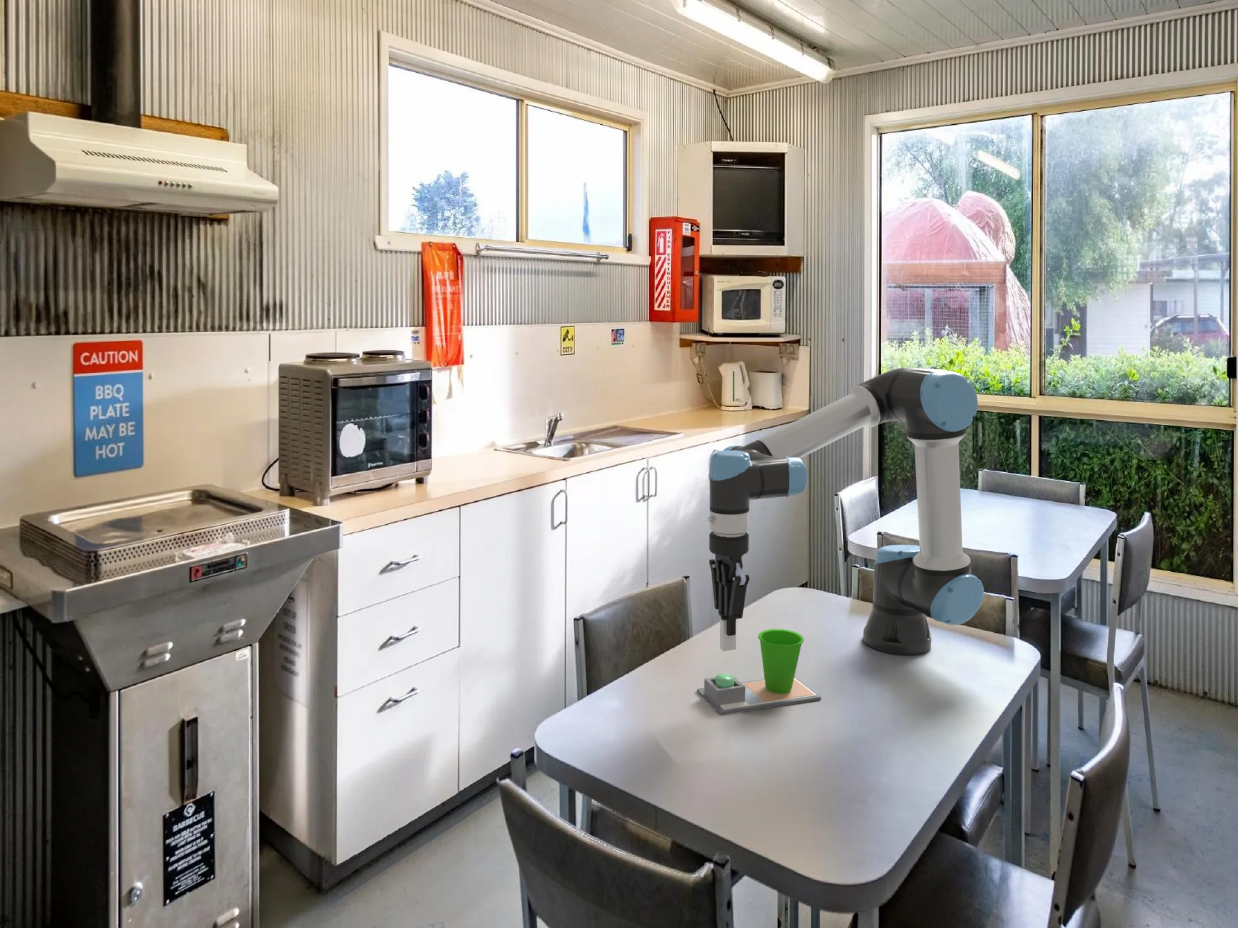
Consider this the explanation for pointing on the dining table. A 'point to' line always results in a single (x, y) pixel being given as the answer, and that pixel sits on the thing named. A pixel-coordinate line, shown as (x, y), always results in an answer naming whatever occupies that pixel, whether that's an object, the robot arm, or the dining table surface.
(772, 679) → the cup
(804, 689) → the grey holder tray
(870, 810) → the dining table surface
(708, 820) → the dining table surface
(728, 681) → the button
